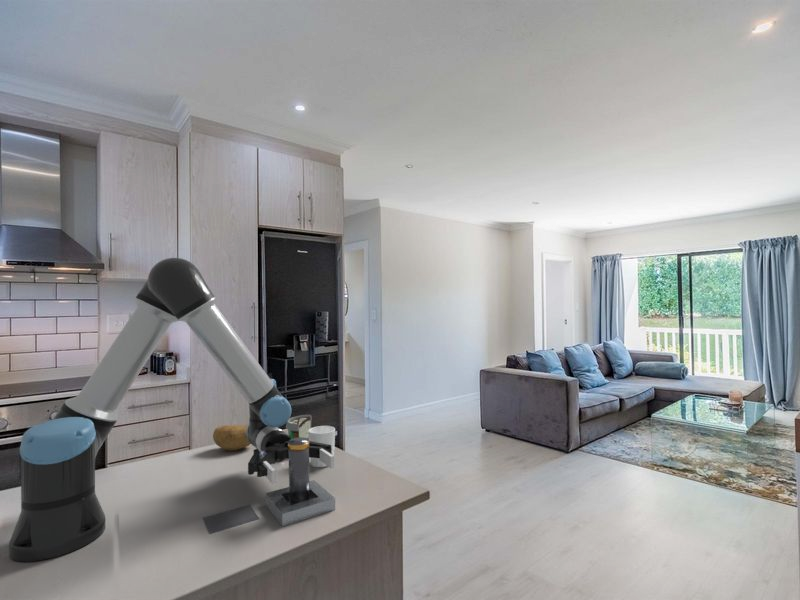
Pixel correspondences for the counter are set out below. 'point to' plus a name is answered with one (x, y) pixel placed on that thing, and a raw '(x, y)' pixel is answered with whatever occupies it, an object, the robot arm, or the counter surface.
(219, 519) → the mount
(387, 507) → the counter surface
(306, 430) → the food container
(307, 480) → the cylinder
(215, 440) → the potato
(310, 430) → the white cup
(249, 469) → the robot arm
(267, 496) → the socket
